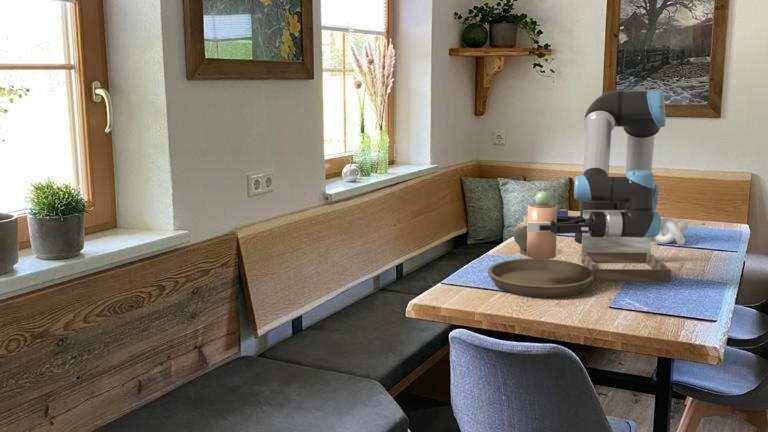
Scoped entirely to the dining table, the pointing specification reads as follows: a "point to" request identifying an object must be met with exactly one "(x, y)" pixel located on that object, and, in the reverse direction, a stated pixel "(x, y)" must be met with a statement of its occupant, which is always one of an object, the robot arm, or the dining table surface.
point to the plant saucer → (541, 277)
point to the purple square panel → (562, 212)
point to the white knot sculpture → (672, 231)
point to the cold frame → (621, 257)
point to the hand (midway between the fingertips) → (525, 224)
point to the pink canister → (541, 242)
